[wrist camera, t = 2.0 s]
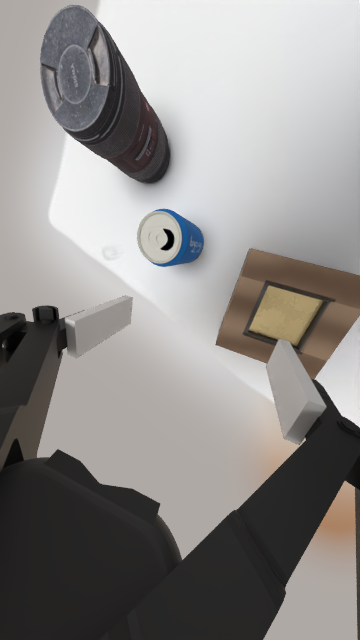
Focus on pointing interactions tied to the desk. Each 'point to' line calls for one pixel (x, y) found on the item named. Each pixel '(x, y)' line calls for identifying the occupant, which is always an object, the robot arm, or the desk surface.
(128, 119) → the camera lens
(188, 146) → the desk surface
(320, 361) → the socket block
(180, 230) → the beverage can
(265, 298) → the gold metal plaque
